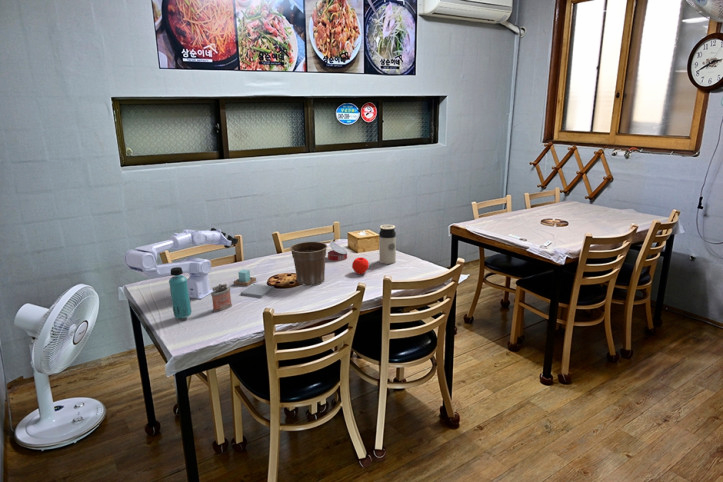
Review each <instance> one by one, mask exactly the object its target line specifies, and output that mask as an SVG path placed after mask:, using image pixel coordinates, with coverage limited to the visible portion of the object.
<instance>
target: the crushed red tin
mask: <svg viewBox="0 0 723 482" xmlns="http://www.w3.org/2000/svg"><path fill="white" fill-rule="evenodd" d="M212 289H213V292H212V293H210V295H211V300H212V311H213V313H220V312H223V311H226V310H227V309H230V308H232V306H233V304H232V297H231V288H230V287H228V283H227V282H226V283H219V284H218V285H216V286H215V285H214V286H213V287H212Z"/></svg>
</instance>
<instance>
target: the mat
mask: <svg viewBox="0 0 723 482" xmlns="http://www.w3.org/2000/svg"><path fill="white" fill-rule="evenodd" d="M273 290H275V286H273V285H266V284H257V283H252V284H251V285H249V286H247V287H246V288H245V289H243V291H240V295H241V296H248V297H256V298H263V297H265V296H266V295H267V294H269V293H271V292H272V291H273Z"/></svg>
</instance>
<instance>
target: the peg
mask: <svg viewBox="0 0 723 482" xmlns="http://www.w3.org/2000/svg"><path fill="white" fill-rule="evenodd" d="M237 275H238V279H239V281H240V282H248V281H249V280H250V277H251V273H250V270H248V269H241V270H239V271H238V273H237Z"/></svg>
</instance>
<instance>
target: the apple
mask: <svg viewBox="0 0 723 482" xmlns="http://www.w3.org/2000/svg"><path fill="white" fill-rule="evenodd" d="M351 267H352V269H353V271H354V273H356V274H358V275H362V274H365V273H366V272H367V271H368V269H369V267H370V264H369V261H368V260H367V258H365V257H356V258H355V259H353V261H352V264H351Z"/></svg>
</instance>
